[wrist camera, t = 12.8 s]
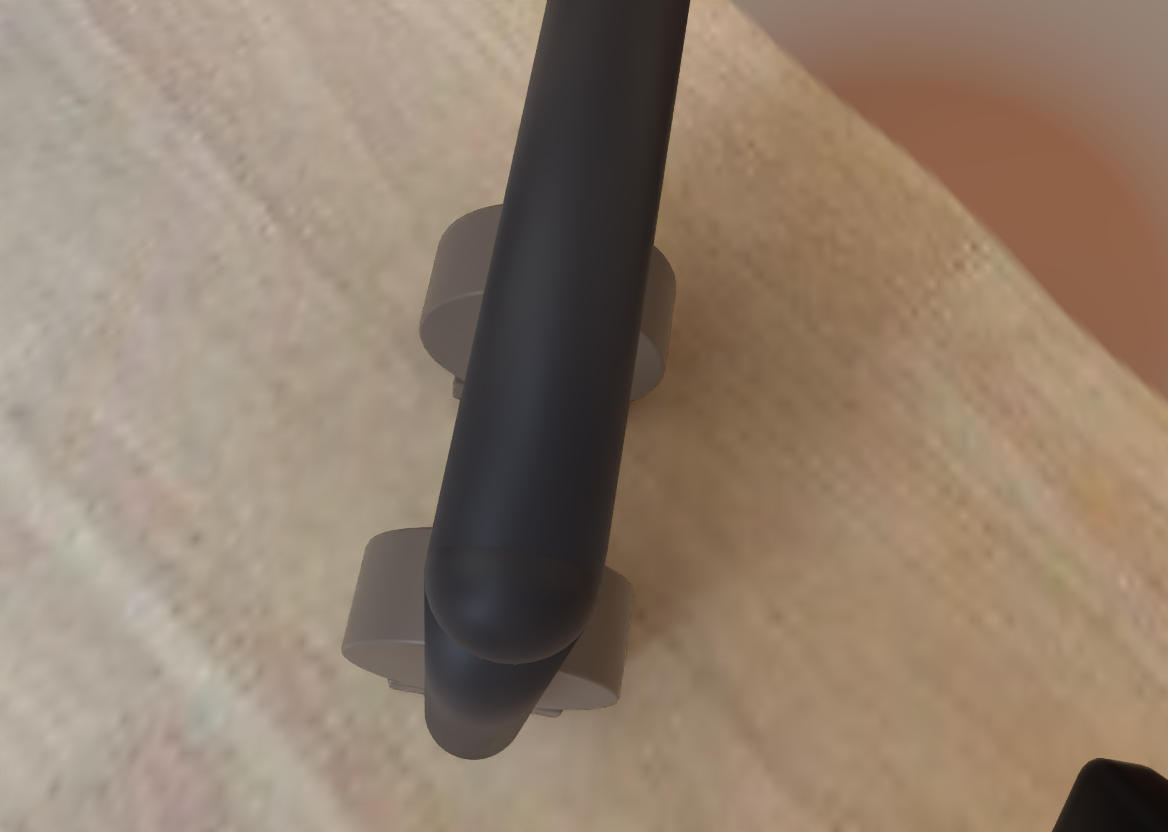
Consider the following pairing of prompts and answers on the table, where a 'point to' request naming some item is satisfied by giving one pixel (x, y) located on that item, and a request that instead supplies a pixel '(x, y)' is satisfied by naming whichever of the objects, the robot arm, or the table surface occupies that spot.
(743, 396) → the table surface
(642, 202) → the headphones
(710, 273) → the table surface
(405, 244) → the table surface
